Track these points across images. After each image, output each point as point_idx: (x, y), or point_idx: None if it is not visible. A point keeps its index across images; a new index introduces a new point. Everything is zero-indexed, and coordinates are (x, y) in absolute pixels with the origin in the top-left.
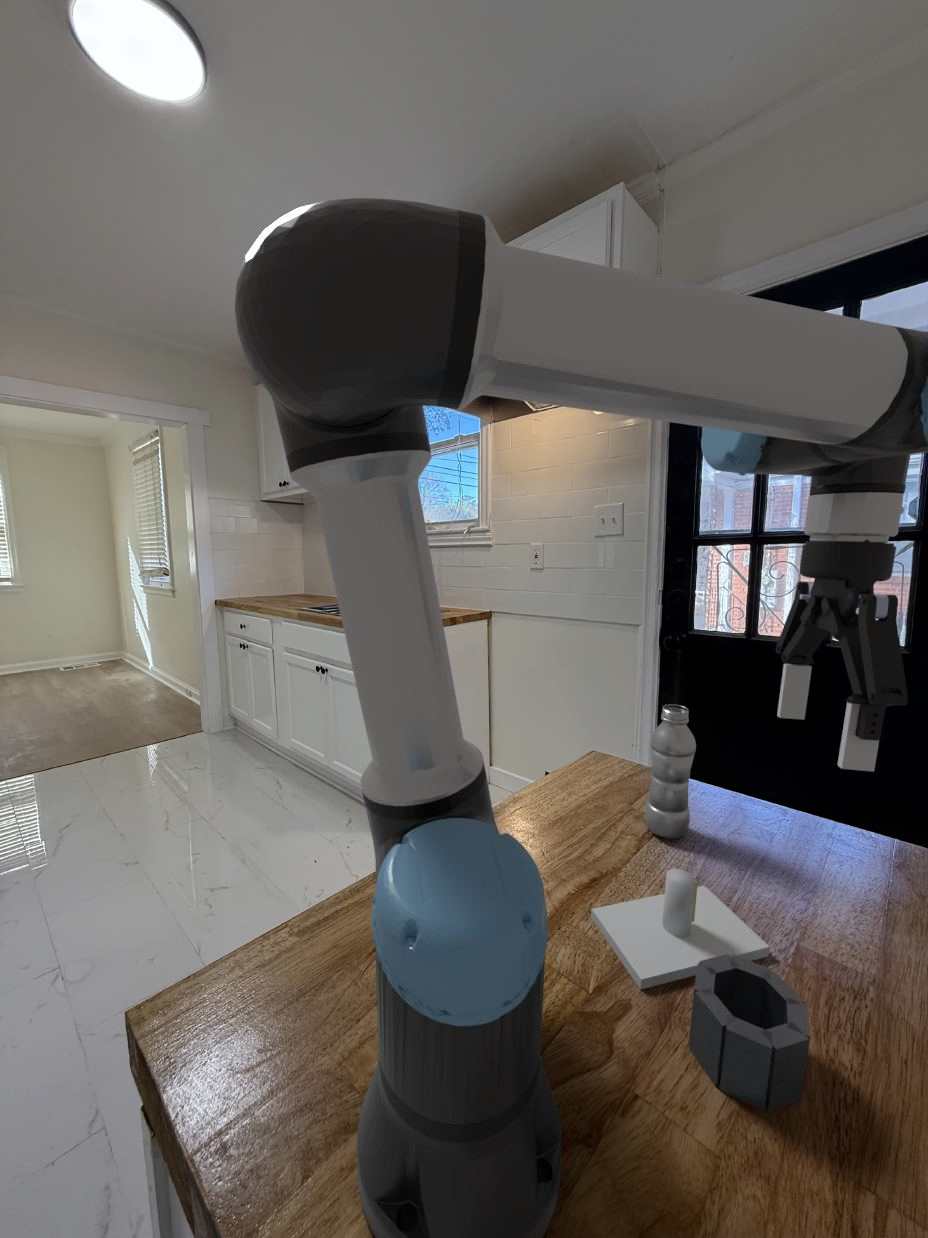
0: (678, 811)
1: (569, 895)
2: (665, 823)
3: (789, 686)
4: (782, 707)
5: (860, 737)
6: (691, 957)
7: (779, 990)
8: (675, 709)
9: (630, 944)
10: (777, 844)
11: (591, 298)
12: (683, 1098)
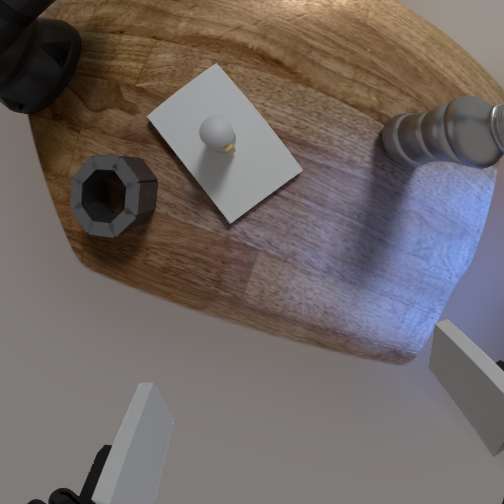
0: (402, 147)
1: (242, 44)
2: (388, 133)
3: (480, 383)
4: (449, 340)
5: (106, 447)
6: (186, 153)
7: (117, 219)
8: None
9: (182, 102)
10: (411, 260)
11: None
12: (86, 157)
